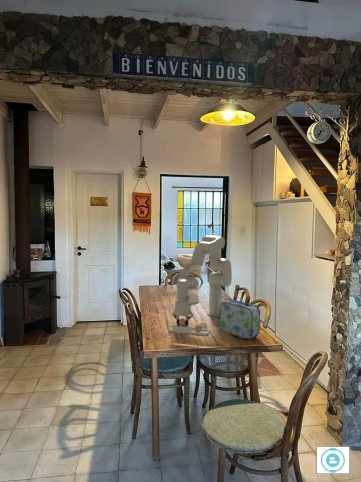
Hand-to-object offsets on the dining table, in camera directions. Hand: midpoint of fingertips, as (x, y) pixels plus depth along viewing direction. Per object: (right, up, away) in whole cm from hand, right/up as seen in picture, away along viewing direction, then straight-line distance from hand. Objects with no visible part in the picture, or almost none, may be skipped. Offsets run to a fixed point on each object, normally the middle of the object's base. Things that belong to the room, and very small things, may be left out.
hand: (182, 325), depth 218 cm
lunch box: (+35, -3, -12) cm, 37 cm away
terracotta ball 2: (+10, -1, -12) cm, 15 cm away
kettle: (+4, +3, +67) cm, 68 cm away
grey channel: (+4, -2, -10) cm, 11 cm away
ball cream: (+13, -1, -4) cm, 14 cm away
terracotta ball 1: (0, 0, 0) cm, 0 cm away
